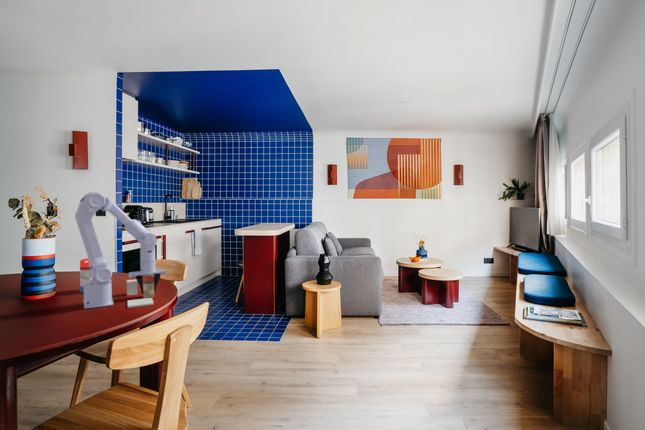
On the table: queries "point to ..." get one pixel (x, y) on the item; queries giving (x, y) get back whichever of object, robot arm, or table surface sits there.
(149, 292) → the labelled block
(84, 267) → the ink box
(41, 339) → the table surface
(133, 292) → the grey block
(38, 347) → the table surface
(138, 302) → the sage pad
